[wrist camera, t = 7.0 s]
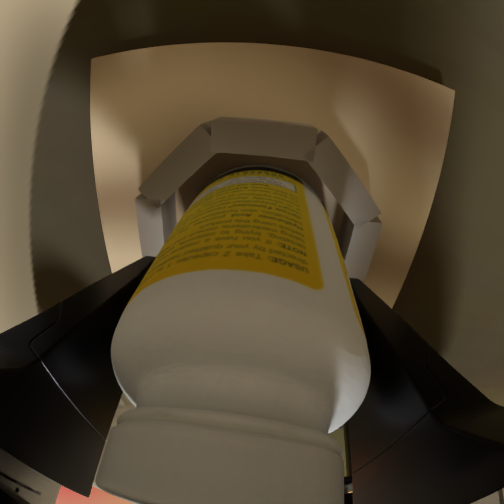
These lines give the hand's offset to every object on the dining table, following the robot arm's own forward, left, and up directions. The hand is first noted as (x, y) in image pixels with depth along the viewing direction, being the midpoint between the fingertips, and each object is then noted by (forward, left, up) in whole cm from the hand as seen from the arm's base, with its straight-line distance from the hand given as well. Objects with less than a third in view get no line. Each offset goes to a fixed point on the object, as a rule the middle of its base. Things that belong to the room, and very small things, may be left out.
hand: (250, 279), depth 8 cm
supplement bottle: (0, 0, -3) cm, 3 cm away
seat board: (0, 0, -4) cm, 4 cm away
